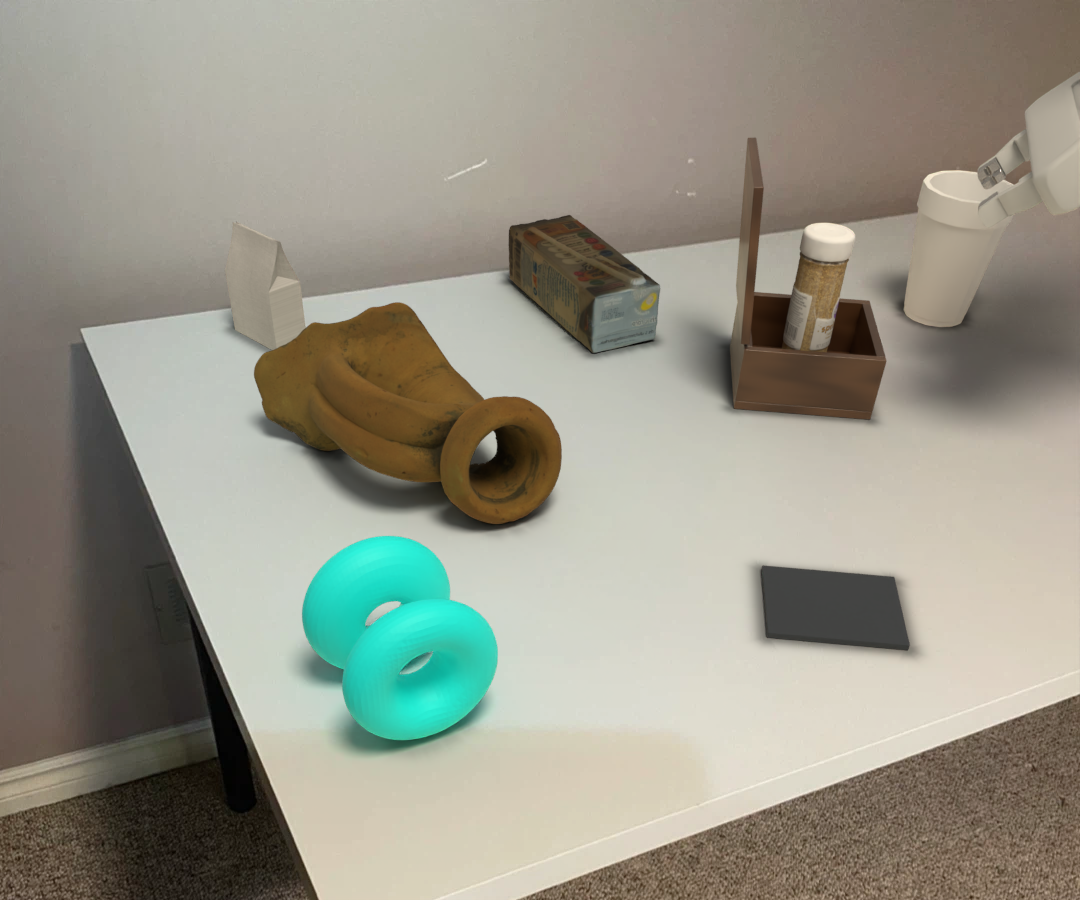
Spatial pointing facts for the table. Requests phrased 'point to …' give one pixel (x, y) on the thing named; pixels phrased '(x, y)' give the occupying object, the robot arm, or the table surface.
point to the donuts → (399, 638)
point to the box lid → (749, 239)
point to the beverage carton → (583, 283)
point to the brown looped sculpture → (409, 412)
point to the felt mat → (833, 607)
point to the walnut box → (808, 363)
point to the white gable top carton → (263, 289)
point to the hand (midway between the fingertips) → (980, 198)
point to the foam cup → (950, 247)
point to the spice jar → (817, 286)
